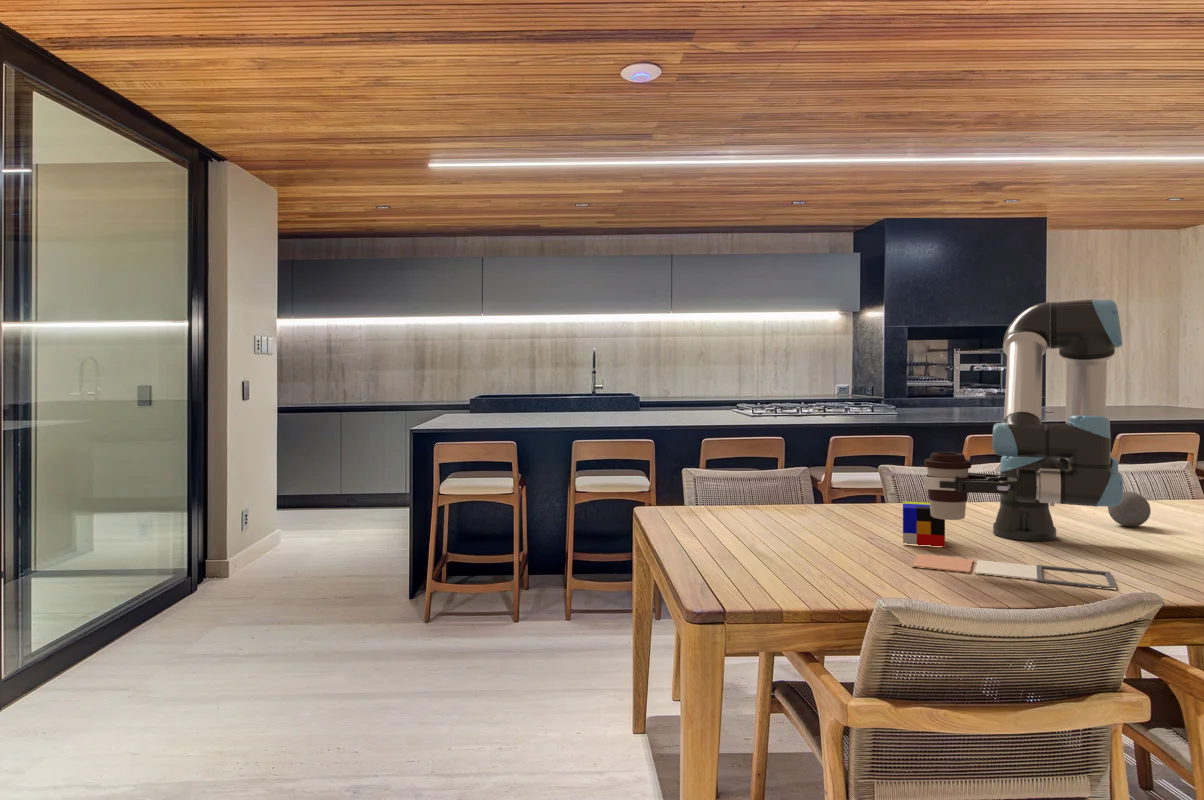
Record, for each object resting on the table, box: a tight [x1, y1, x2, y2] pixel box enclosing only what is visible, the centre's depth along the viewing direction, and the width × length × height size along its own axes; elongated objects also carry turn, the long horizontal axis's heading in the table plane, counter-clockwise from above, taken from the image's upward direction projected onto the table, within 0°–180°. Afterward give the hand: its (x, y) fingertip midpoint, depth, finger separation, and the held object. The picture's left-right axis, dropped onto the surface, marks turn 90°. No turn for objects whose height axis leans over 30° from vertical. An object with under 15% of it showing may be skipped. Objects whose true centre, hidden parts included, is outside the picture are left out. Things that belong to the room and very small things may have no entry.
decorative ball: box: [1107, 491, 1152, 528], centre depth 212 cm, size 10×10×10 cm
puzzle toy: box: [902, 501, 946, 548], centre depth 196 cm, size 10×10×10 cm
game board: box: [912, 554, 1118, 589], centre depth 167 cm, size 39×14×1 cm, turn 60°
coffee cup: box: [923, 451, 972, 521], centre depth 172 cm, size 10×10×15 cm
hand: (926, 480), depth 174 cm, fingers closed on coffee cup, 9 cm apart
